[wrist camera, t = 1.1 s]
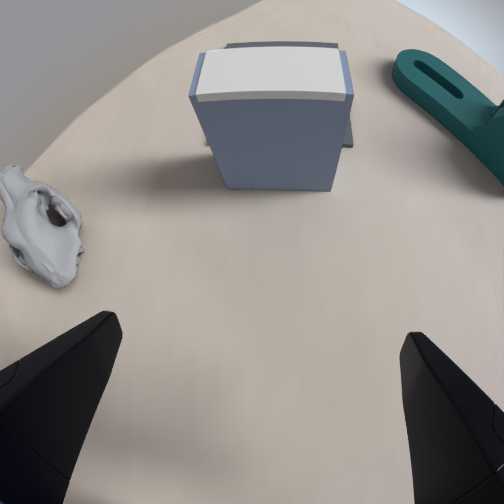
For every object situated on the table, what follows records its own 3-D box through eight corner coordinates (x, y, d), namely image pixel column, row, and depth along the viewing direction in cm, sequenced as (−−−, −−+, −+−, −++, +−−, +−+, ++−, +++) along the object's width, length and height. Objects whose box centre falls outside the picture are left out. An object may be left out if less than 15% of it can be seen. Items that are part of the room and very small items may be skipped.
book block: (330, 192, 24) (354, 94, 13) (227, 189, 25) (187, 95, 14) (328, 152, 24) (345, 49, 14) (232, 151, 25) (199, 51, 15)
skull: (41, 317, 21) (-52, 215, 15) (64, 272, 29) (-8, 193, 23) (99, 255, 21) (-2, 139, 16) (112, 223, 29) (37, 137, 23)
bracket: (530, 163, 22) (569, 126, 15) (513, 199, 22) (561, 162, 14) (410, 56, 27) (426, 4, 19) (379, 78, 26) (395, 19, 19)
